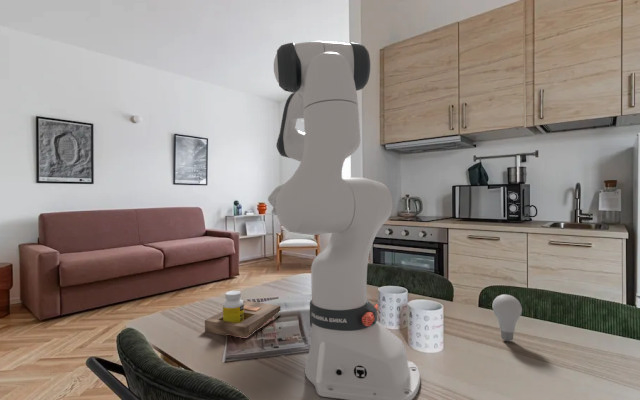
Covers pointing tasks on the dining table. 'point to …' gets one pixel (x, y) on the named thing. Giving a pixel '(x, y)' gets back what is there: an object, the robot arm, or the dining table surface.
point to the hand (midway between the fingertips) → (285, 214)
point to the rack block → (254, 318)
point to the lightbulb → (507, 314)
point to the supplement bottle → (233, 307)
